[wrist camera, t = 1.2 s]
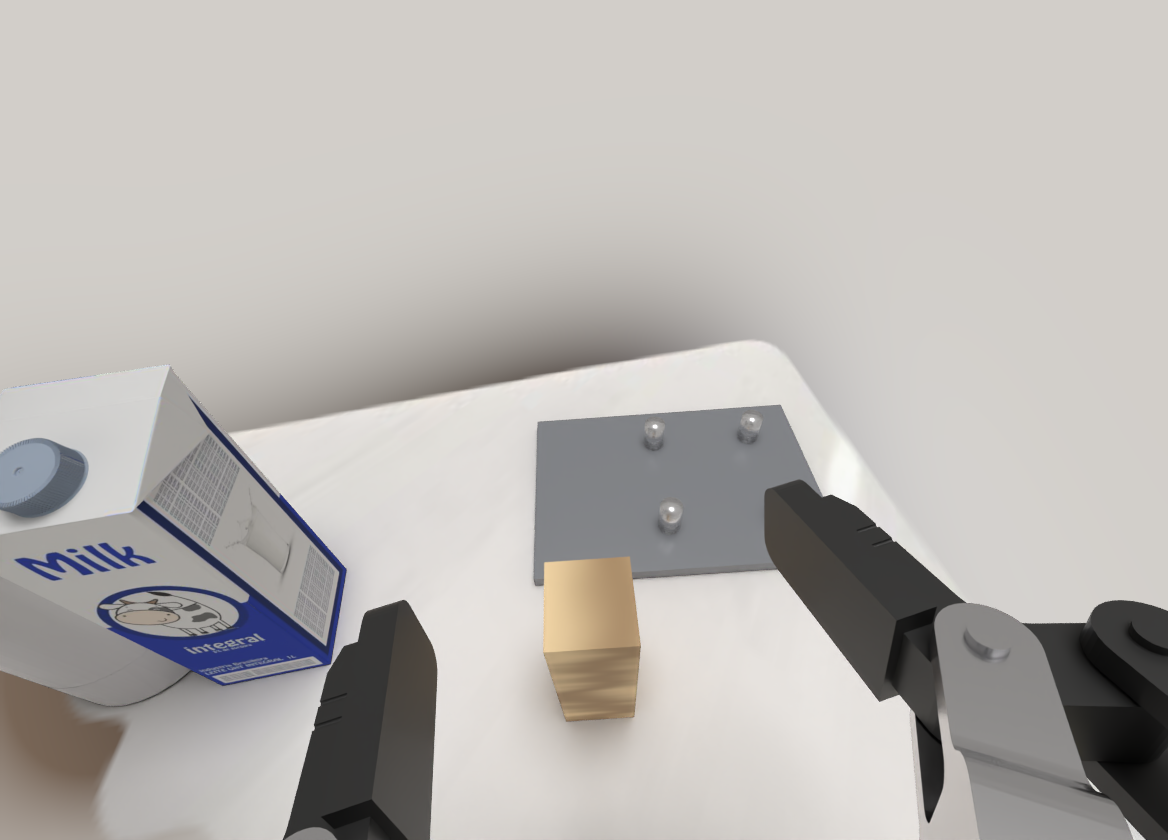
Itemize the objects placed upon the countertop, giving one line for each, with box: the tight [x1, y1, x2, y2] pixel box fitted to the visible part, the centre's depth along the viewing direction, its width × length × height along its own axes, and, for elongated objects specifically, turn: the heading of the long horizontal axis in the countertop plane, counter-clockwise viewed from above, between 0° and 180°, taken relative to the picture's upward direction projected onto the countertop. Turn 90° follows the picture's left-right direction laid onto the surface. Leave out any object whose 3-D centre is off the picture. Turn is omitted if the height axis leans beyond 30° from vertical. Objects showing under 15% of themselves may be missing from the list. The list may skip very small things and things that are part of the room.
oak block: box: [543, 557, 641, 721], centre depth 26 cm, size 4×4×12 cm
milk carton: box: [0, 365, 346, 686], centre depth 26 cm, size 7×7×20 cm
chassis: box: [534, 405, 823, 585], centre depth 38 cm, size 22×15×4 cm
